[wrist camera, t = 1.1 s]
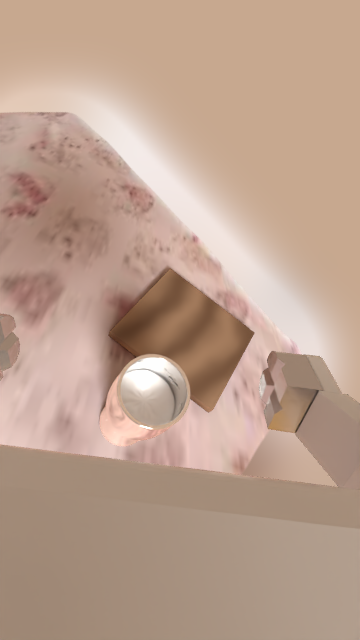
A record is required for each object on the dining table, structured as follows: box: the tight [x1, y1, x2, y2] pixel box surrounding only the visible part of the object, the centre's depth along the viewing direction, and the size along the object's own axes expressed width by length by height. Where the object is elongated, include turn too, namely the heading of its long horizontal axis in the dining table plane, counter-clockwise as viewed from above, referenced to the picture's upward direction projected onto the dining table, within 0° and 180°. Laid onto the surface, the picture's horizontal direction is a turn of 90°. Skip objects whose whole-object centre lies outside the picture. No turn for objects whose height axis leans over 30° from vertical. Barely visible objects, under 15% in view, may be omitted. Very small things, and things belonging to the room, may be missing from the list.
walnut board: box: [109, 269, 254, 412], centre depth 46 cm, size 18×16×2 cm
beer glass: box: [99, 354, 190, 446], centre depth 31 cm, size 7×7×15 cm
